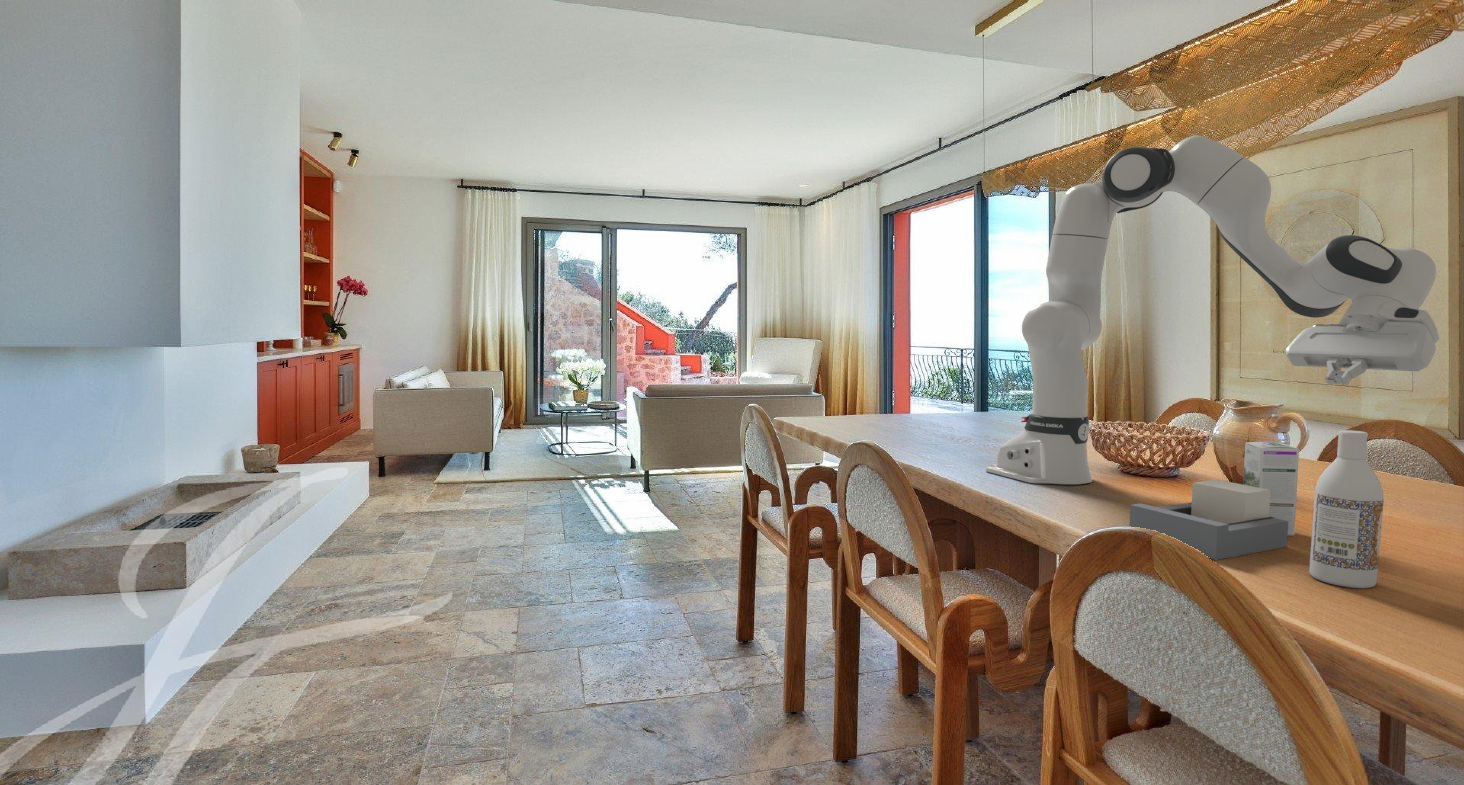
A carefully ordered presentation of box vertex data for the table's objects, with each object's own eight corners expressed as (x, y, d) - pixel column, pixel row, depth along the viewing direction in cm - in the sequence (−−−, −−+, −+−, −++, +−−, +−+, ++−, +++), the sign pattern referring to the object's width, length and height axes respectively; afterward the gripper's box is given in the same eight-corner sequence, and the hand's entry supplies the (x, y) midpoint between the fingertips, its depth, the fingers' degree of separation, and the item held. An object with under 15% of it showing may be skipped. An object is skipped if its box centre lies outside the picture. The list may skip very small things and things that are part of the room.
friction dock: (1197, 524, 126) (1199, 495, 126) (1286, 546, 113) (1288, 514, 113) (1128, 535, 119) (1130, 504, 119) (1215, 560, 107) (1217, 526, 106)
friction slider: (1214, 526, 123) (1216, 479, 123) (1267, 540, 116) (1270, 489, 115) (1190, 530, 121) (1192, 482, 120) (1242, 544, 113) (1246, 493, 113)
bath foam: (1381, 593, 93) (1393, 437, 92) (1311, 583, 97) (1322, 432, 95) (1371, 578, 99) (1383, 430, 97) (1306, 568, 103) (1316, 426, 101)
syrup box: (1296, 536, 119) (1302, 447, 118) (1255, 534, 120) (1261, 446, 119) (1277, 527, 125) (1283, 442, 123) (1238, 525, 126) (1244, 440, 124)
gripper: (1300, 313, 138) (1264, 366, 135) (1439, 311, 120) (1401, 372, 117) (1313, 337, 140) (1277, 389, 137) (1452, 338, 122) (1414, 399, 119)
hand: (1335, 381), depth 127 cm, fingers closed
